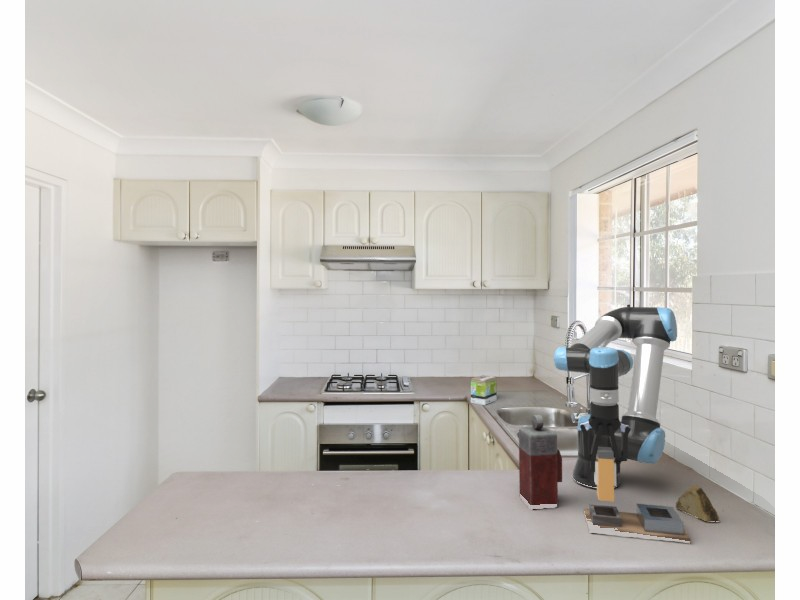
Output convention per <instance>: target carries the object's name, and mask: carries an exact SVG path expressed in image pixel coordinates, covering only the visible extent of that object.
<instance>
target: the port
mask: <svg viewBox="0 0 800 600" xmlns="http://www.w3.org/2000/svg"><path fill="white" fill-rule="evenodd" d="M636 514H637V517H638V519H639V521H640V523H641V525H642V527H643V529H644V531H645V532H653V533H663V534H672V535H682V536H683V528H684V521H683V520H682V519H681V517H680V515H679V514H678V512H677V511H676V510H675V508H674V507H673V506H668V505H657V504H656V505H654V504H647V503H646V504H645V503H636Z"/></svg>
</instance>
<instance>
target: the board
mask: <svg viewBox="0 0 800 600" xmlns="http://www.w3.org/2000/svg"><path fill="white" fill-rule="evenodd" d="M584 511H585V515H586V518H587V519H591V520H587V521H590V522H592V523H593V525H598V526H600V528H614V529H615V528H617V529H618V530H615V531H620V532H629V533H637V534H643V535H650V536H657V537H665V538H672V539H679V540H685V541H690V542H691V537H690V535H689V533H687V531H686V530H685V527H683V536H682V535H672V534H663V533H653V532H645V531H644V529H643V527H642V525H641V523H640V521H639V519H638V517H637V512H624V511H619V509H618V506H613V505H602V504H592V503H591V504H590V503H589V508H583V512H584Z"/></svg>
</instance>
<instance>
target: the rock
mask: <svg viewBox="0 0 800 600" xmlns="http://www.w3.org/2000/svg"><path fill="white" fill-rule="evenodd" d="M676 501H677V502H675V509H676V508H677V509H676V510H678V509H680V510H682V511H684V512H686V513H689V514H691V515H693V516H696V517H698V518H700V519H702V520H704V521H715V522H716V521H720V522H721V520H720V517H719V515H718V512H717V510H716V508H714V506H713V504H712V502H711V500H710V499H709V496H708V495H707V494H706V492H705V491H704V490H703V488H702V487H700V486H698V485H692V486H690V488H689V489H688V490H687V491H685V492H684V493H683V494H682V495H681V496H679V498H678V500H676ZM680 510H679V511H680ZM682 511H681V512H682ZM684 512H683V513H684ZM686 513H685V514H686ZM689 514H688V515H689ZM691 515H690V516H691ZM700 519H699V520H700ZM702 520H701V521H702ZM704 521H703V522H704Z"/></svg>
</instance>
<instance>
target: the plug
mask: <svg viewBox="0 0 800 600" xmlns="http://www.w3.org/2000/svg"><path fill="white" fill-rule="evenodd" d="M596 459H597V461H598V485H597V489H596V496H597V499H598V501H603V502H615V488H614V460H615V459H614V452H613V450H612V448H611V447H598V450H597V455H596Z"/></svg>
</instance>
